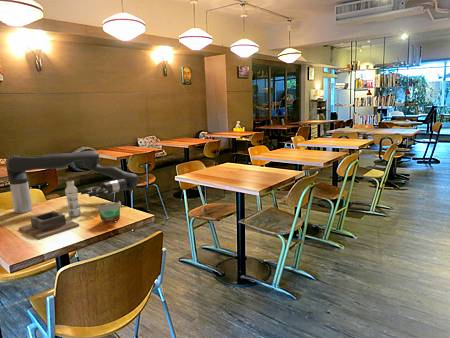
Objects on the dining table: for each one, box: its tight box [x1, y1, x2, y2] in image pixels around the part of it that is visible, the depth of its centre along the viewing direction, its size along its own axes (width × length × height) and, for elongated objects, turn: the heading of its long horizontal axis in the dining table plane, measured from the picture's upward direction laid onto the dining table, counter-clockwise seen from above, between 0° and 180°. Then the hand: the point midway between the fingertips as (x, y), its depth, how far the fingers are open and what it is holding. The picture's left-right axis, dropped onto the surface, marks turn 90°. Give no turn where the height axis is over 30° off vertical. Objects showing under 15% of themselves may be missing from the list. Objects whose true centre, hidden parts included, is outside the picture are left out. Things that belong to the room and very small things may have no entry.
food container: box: [96, 200, 122, 224], centre depth 180 cm, size 12×6×10 cm, turn 117°
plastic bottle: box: [64, 180, 81, 218], centre depth 190 cm, size 6×7×20 cm
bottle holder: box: [18, 210, 80, 240], centre depth 174 cm, size 22×20×6 cm
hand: (85, 193), depth 195 cm, fingers open, 8 cm apart
